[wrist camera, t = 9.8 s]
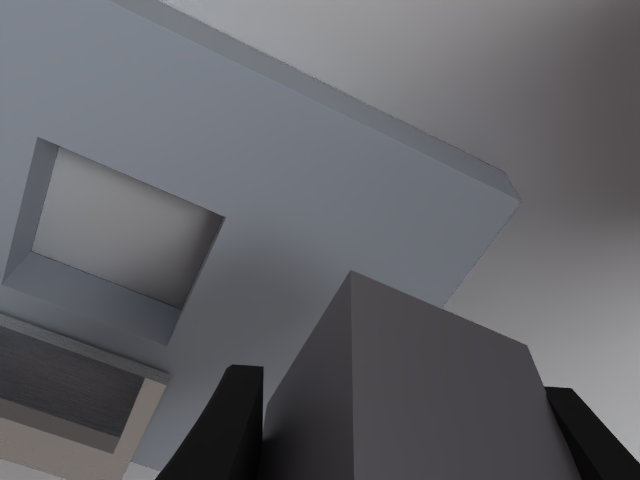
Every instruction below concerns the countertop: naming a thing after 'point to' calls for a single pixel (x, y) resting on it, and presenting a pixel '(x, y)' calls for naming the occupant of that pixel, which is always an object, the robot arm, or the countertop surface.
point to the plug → (409, 399)
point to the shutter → (71, 403)
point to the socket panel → (220, 193)
